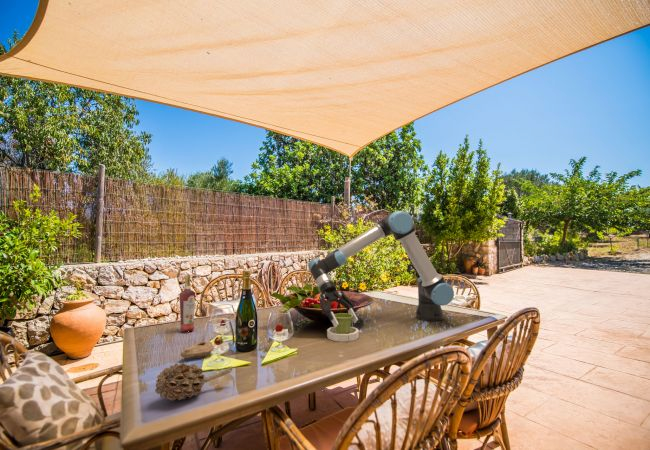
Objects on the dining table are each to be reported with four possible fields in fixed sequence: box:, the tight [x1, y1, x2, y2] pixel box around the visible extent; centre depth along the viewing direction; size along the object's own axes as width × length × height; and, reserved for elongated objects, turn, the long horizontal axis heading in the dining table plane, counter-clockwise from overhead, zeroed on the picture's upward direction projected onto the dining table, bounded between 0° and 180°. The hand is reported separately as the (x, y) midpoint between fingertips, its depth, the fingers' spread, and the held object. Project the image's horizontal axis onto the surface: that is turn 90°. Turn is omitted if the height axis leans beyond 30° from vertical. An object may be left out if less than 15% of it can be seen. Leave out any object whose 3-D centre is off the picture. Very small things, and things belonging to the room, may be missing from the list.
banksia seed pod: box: [154, 362, 235, 402], centre depth 93 cm, size 22×10×10 cm, turn 128°
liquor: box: [179, 274, 196, 333], centre depth 158 cm, size 7×7×28 cm
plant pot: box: [333, 312, 353, 334], centre depth 146 cm, size 9×9×9 cm
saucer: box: [326, 326, 360, 343], centre depth 146 cm, size 14×14×3 cm
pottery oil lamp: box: [180, 340, 215, 359], centre depth 123 cm, size 9×12×7 cm
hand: (346, 323), depth 144 cm, fingers open, 11 cm apart
